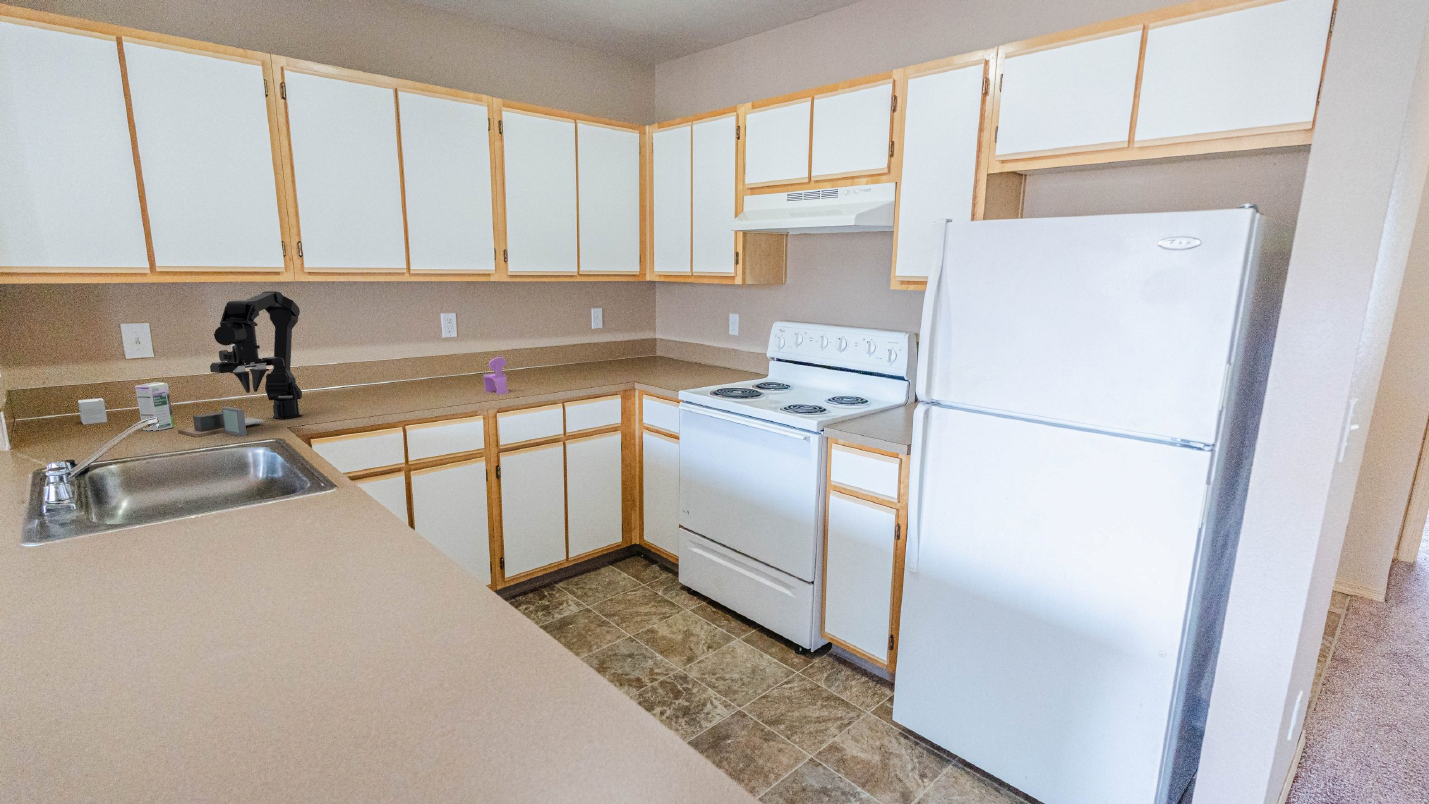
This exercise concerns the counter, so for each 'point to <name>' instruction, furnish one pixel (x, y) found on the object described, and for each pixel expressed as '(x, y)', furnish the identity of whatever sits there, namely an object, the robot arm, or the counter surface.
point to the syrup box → (155, 404)
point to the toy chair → (496, 377)
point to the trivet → (198, 434)
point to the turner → (215, 421)
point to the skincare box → (92, 411)
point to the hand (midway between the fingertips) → (251, 392)
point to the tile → (234, 421)
